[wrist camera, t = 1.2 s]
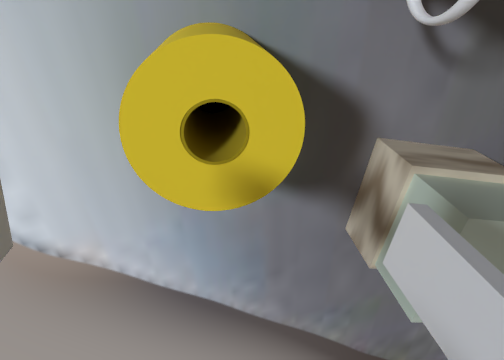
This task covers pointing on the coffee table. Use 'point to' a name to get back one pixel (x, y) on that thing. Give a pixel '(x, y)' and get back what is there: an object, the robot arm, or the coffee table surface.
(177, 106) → the yellow hollow cylinder
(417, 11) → the mug
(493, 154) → the coffee table surface
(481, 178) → the base block
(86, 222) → the coffee table surface
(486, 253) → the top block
